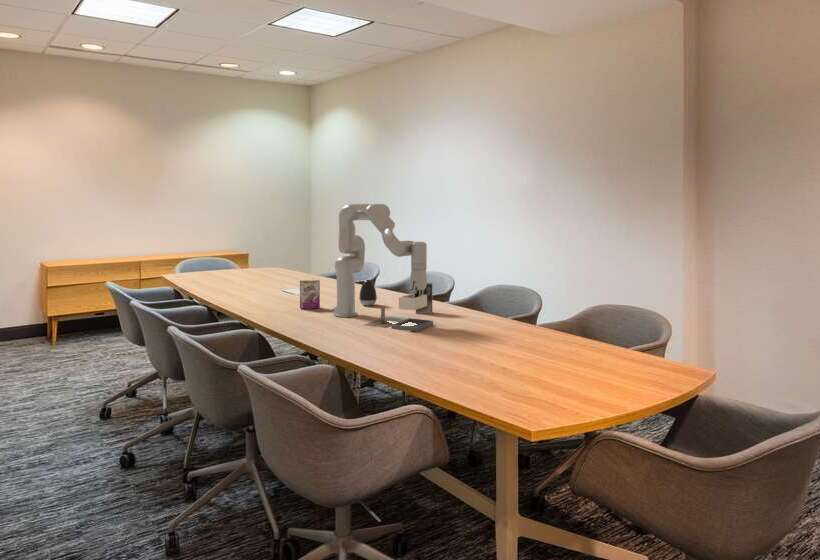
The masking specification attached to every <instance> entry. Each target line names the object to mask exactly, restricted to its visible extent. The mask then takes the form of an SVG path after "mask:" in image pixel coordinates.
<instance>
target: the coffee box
mask: <svg viewBox="0 0 820 560" xmlns="http://www.w3.org/2000/svg"><path fill="white" fill-rule="evenodd" d="M416 290H417V289H416ZM423 294H424V295H427V306H425V307H422V308H420V309H417V310H415V314H417V315H418V314H420V315H421V314H424V315H428V314H429V315H430V314H431V315H432V314H433V283H430V282H427V284H426V288H425V290H424V292H423Z"/></svg>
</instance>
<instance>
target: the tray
mask: <svg viewBox="0 0 820 560" xmlns="http://www.w3.org/2000/svg"><path fill="white" fill-rule="evenodd" d="M400 321H401V322H398V323H396V324H393V325H391V326H390V327H391V330H392V329H394V330H401V331H409V332H410V333H419V332H421V331H423V330H426V329H428V328H429V326H430V327H432V326H434V320H431V319H419V318H412V317H411V318H409V317H408V318H407V319H404V320H400ZM408 322H412V323H416V324H417V325H414V326H401V325H402V324H405V323H408ZM431 325H432V326H431ZM427 327H428V328H427ZM425 328H426V329H425Z"/></svg>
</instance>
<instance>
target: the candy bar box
mask: <svg viewBox="0 0 820 560" xmlns="http://www.w3.org/2000/svg"><path fill="white" fill-rule="evenodd" d="M320 281H321V280H320V279H312V278H311V279H308V278H307V279H302V278H301V279H299V309H300V308H301V309H300V310H303V309H302V308H319V309H320V307H321V302H320V301H321V297H320V296H321V293H320V292H321V291H320V288H321V282H320Z"/></svg>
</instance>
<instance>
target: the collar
mask: <svg viewBox="0 0 820 560" xmlns="http://www.w3.org/2000/svg"><path fill="white" fill-rule="evenodd" d="M425 306H427V295H424V294H420V296H419V297H416V298H415V295H414V293H409V294H406V295H403V296H400V297H398V309H399V310H407V311H416V310H417V309H420V308H422V307H425Z"/></svg>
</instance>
